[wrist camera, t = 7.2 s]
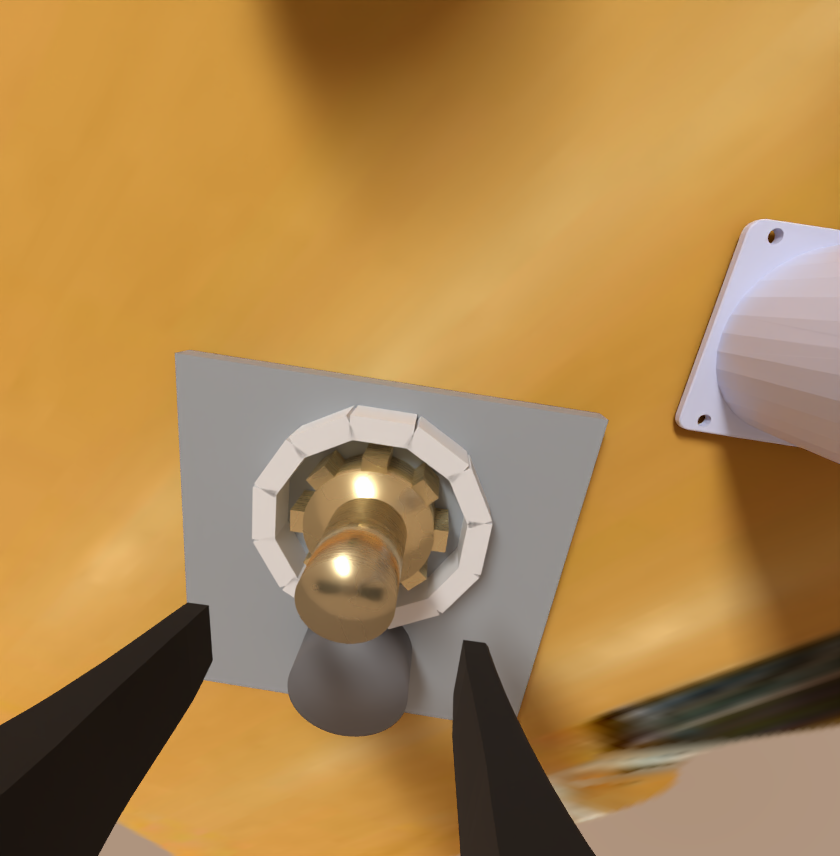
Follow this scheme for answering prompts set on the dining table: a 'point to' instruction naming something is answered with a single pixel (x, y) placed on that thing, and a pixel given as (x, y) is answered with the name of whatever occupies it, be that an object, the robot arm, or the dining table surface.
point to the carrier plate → (415, 609)
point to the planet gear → (364, 540)
